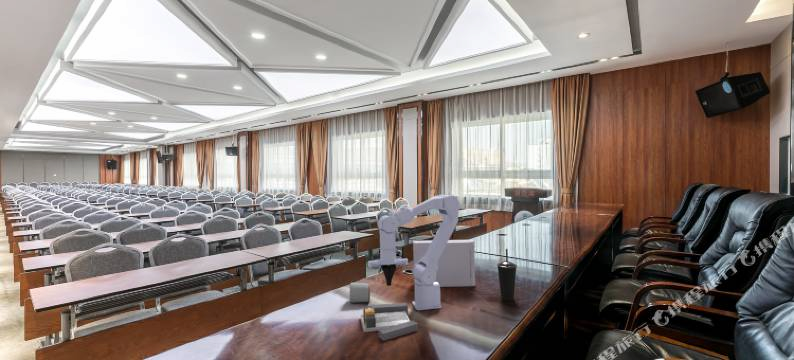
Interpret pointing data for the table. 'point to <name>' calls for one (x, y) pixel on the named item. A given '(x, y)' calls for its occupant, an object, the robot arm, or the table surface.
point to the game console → (451, 262)
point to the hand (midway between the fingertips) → (388, 285)
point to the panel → (382, 320)
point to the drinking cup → (507, 278)
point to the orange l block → (369, 312)
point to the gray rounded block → (359, 292)
